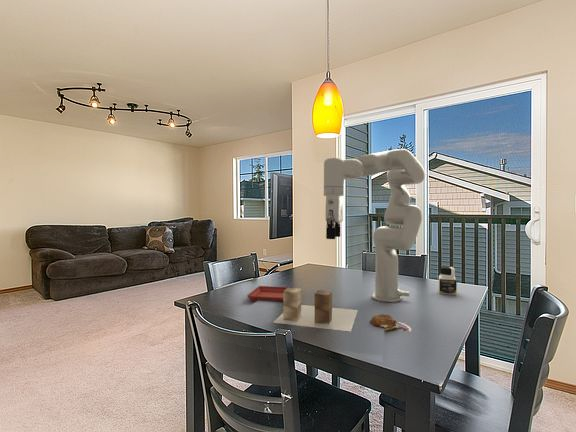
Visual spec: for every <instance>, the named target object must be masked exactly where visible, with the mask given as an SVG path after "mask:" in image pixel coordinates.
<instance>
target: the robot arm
mask: <svg viewBox="0 0 576 432" xmlns="http://www.w3.org/2000/svg"><path fill="white" fill-rule="evenodd" d="M425 171H426V170H425V168H424V167H423V165H422V164H421V163H420V160H419V159H417V158H416V157H415V155H413V153H412V152H411V151H409V150H408V149H406V148H398V149H392V150H384V151H381V152H375V153H370V154H365V155H360V156H357V157H353V158H347V159H346V158H344V159H343V158H340V157H330V158H326V159H325V160H324V162H323V196H324V197H325V221H326V227H325V229H326V230H325V231H326V233H325V234H326V235H325V238H326V240H335V239H336V238H339V237H341V223H342V222H343V221H344V210H343V209H344V207H343V197H344V196H345V180H348V181H349V180H356V179H358V178H360V177H364V176H365V177H367V176H374V175H378V174H381V173H384V172H386V173H387V174H386V180H387V183H388V185H389V188H390V197H389V200H388V202H387V203H388V204H387V206H386V210H385V211H384V216H383V220H384V222H385V224H387V225H385V226H384V225H383V226H379V227H377V228H376V229H375V230H374V232H373V235H372V237H373V244H374V250H375V283H374V288H375V291H374V292H373V293H372V294H371V299H373V300H375V301H378V302H383V303H384V302H385V303H398V302H400V301H402V300H403V299H402V297H410V291H406V290H400V287H399V257H398V253H397V252H396V250H397V251H398V250H400V251H408V250H409V251H410V249H412V248H413V246H414V245H415V242H416V240H417V236H418V233H419V229H420V227H421V224H422V221H423V220H422V219H423V214H422V210H421V208H420V207H419V206H417V205H414V204H410V202H411V194H410V193H409V191H408V189H407V187H406V185H408V186H409V185H419V184H421V183H422V182H424V180H425V177H426V172H425Z"/></svg>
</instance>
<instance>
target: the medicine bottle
mask: <svg viewBox="0 0 576 432" xmlns="http://www.w3.org/2000/svg"><path fill="white" fill-rule="evenodd" d="M455 271H456V269H455V268H454V267H453V266H445V265H444V266H442V267H440V274H439V275H438V294H440V295H441V294H442V295H451V296H452V295H453V296H454V295H455V296H456V295H457V287H458V286H457V284H458V283H457V281H458V280H457V278H456V272H455Z"/></svg>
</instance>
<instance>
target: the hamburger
mask: <svg viewBox="0 0 576 432" xmlns="http://www.w3.org/2000/svg"><path fill="white" fill-rule="evenodd" d="M369 323H371V325H372V326H373V327H378V328H384V332H387V331H392V330H393V329H395V328H397V329H399V330H403V332H405V331H409V333H410V332H412V328H411V327H410V326H409V325H407V324H406V323H403V322H400V321H397V320H395V319H394V318H393V317H392V316H391V315H390V314H389V315H388V314H384V313H383V314H376V315H373V316H372V317H371V318H370V320H369ZM398 324H400V325H403V326H405V327H403V326H402V327H401V326H399V325H398Z"/></svg>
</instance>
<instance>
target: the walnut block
mask: <svg viewBox="0 0 576 432" xmlns="http://www.w3.org/2000/svg"><path fill="white" fill-rule="evenodd" d="M314 306H315V323H316V324H325V325H330V323H331V321H332V308H333V291H332V290H321V289H320V290H319V289H318V290H316V291H315V293H314Z"/></svg>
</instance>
